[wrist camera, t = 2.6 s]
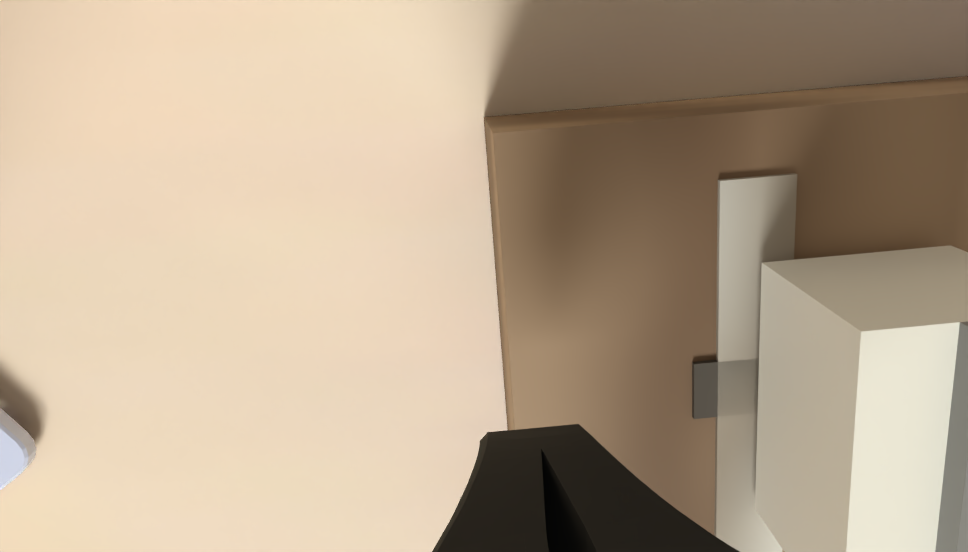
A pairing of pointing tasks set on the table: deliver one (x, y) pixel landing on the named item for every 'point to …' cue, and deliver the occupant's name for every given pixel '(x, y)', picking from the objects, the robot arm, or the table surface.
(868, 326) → the fader knob
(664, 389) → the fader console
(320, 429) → the table surface
